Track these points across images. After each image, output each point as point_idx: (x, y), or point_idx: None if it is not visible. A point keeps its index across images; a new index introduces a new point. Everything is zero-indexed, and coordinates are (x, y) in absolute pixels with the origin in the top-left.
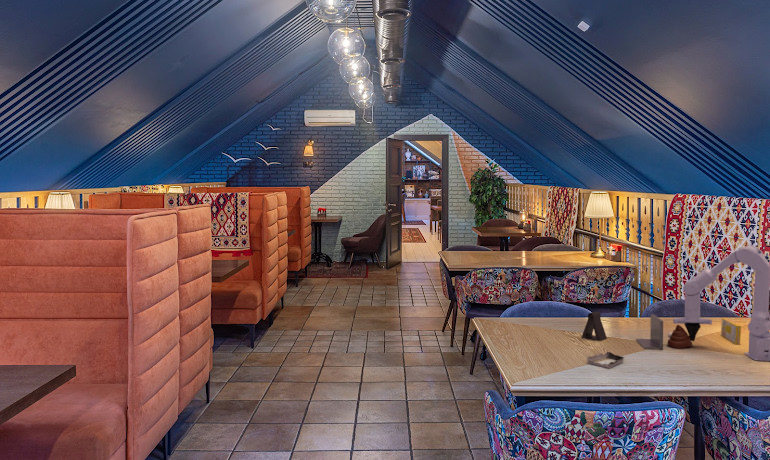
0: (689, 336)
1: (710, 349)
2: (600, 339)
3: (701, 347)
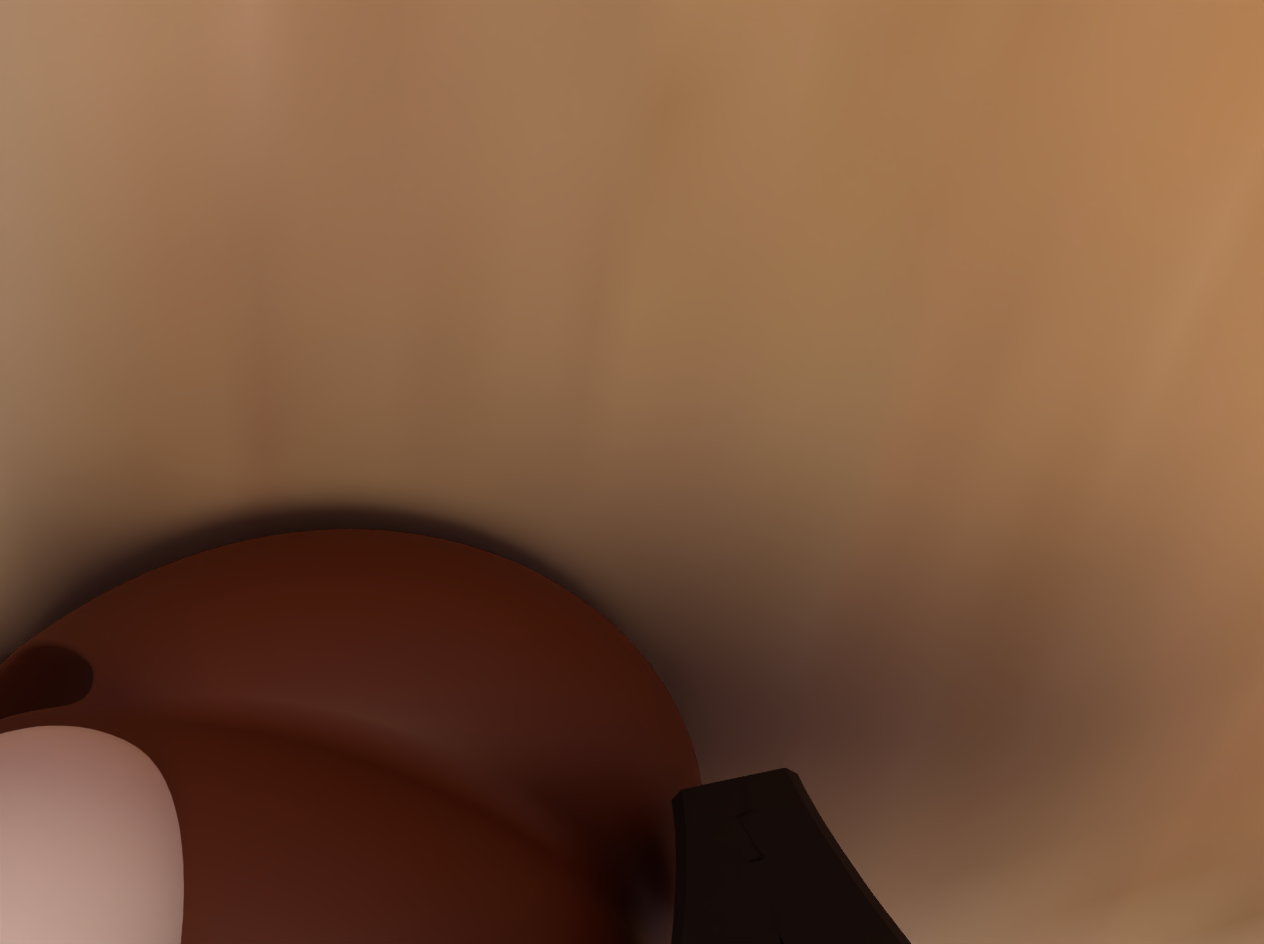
0: (680, 937)
1: (1135, 837)
2: None
3: (960, 728)
